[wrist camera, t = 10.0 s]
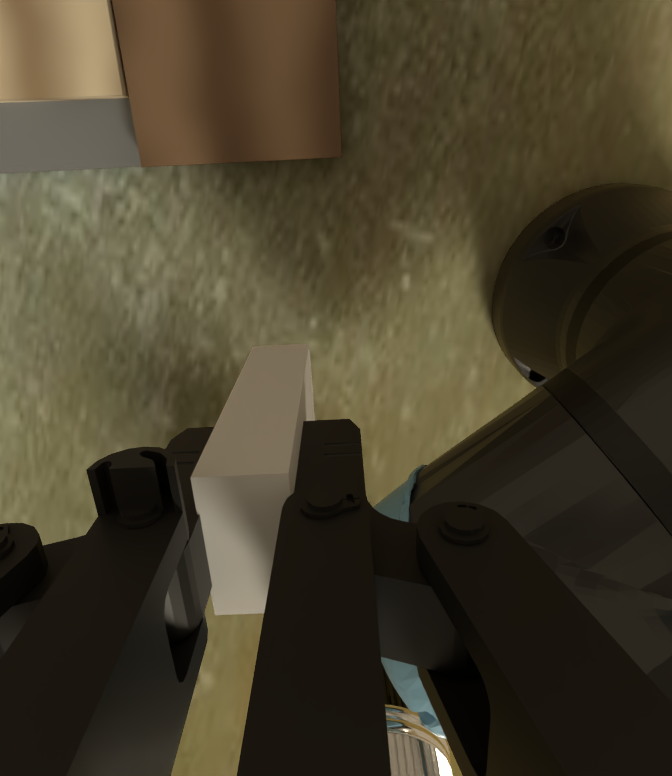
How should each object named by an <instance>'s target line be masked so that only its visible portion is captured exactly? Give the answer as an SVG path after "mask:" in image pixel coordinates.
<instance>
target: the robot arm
mask: <svg viewBox="0 0 672 776" xmlns="http://www.w3.org/2000/svg"><path fill="white" fill-rule="evenodd" d="M492 314H493V324H494V329H495V333H496V336H497V339H498V342H499V345H500V347H501V349H502V351H503V352H504V354H505V356H506V357H507V359H508V360H509V361H510V363H511V364H512V365H513V366H514V367H515V368H516V369H517V371H518V372H519V373H520V374H521V375H522V376H523V377H524V378H525V379H526V380H527V381H528V382H529V383H531V384H532V385H533V386H535V387H536V389H535V390H533V391H532V392H531V393H529V394H528V395H526V396H525V397H524V398H522V399H521V400H520V401H518V402H517V403H515V404H514V405H513V406H511V407H510V408H508V409H507V410H506V411H504V412H503V413H501V414H500V415H498V416H497V417H496V418H494V419H493V420H491V421H490V422H488V423H487V424H486V425H484V426H483V427H481V428H480V429H479V430H477V431H476V432H474V433H473V434H471V435H470V436H469V437H467V438H466V439H464V440H463V441H461V442H460V443H459V444H457V445H456V446H454V447H453V448H451V449H450V450H449V451H447V452H446V453H444V454H443V455H442V456H440V457H439V458H437V459H436V460H434V461H433V462H432V463H430V464H429V465H421V466H419V467H418V468H416V469H415V470H414V471H413V472H412V473H411V474H410V476H409V478H408V480H407V481H406V482H405V483H403V484H402V485H401V486H399V487H398V488H397V489H396V490H394V491H393V492H392V493H391V494H389V495H388V496H387V497H385V498H384V499H383V500H382V501H380V502H379V503H378V504H377V505H375V506H374V507H372V506H371V505H370V503H369V502H368V500H367V497H366V492H365V481H364V469H363V458H362V446H361V435H360V429H359V428H358V427H357V426H356V425H355V424H354V423H353V422H352V421H351V420H350V419H339V420H317V421H315V414H314V401H313V387H312V374H311V360H310V347H309V344H291V345H271V346H253V347H252V349H251V351H250V353H249V355H248V358H247V360H246V362H245V364H244V366H243V368H242V370H241V372H240V374H239V377H238V379H237V381H236V383H235V385H234V387H233V389H232V391H231V393H230V395H229V398H228V400H227V402H226V404H225V406H224V408H223V410H222V412H221V414H220V416H219V419H218V421H217V423H216V425H215V427H205V428H187V429H186V430H184V431H183V432H182V433H180V434H179V435H177V436H176V437H175V438H173V439H172V440H171V441H170V443H169V444H168V446H167V448H166V449H162V448H159V447H139V448H132V449H126V450H123V451H120V452H116V453H113V454H110V455H108V456H106V457H104V458H102V459H100V460H98V461H96V462H95V463H94V464H93V465H92V466H90V467H89V468H88V469H87V474H88V478H89V482H90V486H91V490H92V493H93V497H94V501H95V505H96V509H97V513H98V518H97V519H96V520H95V522H94V523H93V525H92V526H91V528H90V529H89V531H88V532H87V534H86V535H84V536H81V537H77V538H73V539H69V540H64V541H60V542H56V543H52V544H48V545H42V542H41V539H40V536H39V533H38V532H37V530H36V529H35V527H33V526H30V525H27V524H24V523H6V524H0V776H171V772H172V768H173V765H174V761H175V757H176V754H177V750H178V746H179V743H180V739H181V735H182V732H183V728H184V724H185V721H186V717H187V713H188V710H189V706H190V702H191V699H192V695H193V691H194V688H195V684H196V680H197V677H198V673H199V669H200V666H201V662H202V658H203V655H204V651H205V647H206V644H207V634H208V629H207V623H206V618H205V612H204V611H205V608H206V605H207V601H208V598H209V595H210V591H211V596H212V602H213V608H214V613H215V615H231V614H257V613H264V618H263V624H262V630H261V636H260V641H259V647H258V653H257V659H256V665H255V671H254V677H253V683H252V689H251V695H250V701H249V707H248V713H247V719H246V725H245V731H244V736H243V742H242V748H241V754H240V760H239V766H238V772H237V776H391V768H390V756H389V744H388V733H387V721H386V709H385V697H384V686H383V674H382V664H383V666H384V669H385V671H386V673H387V675H388V677H389V679H390V681H391V682H392V684H393V686H394V688H395V689H396V691H397V692H398V694H399V696H400V697H401V699H402V700H403V701H404V703H405V704H406V706H407V707H408V709H409V710H410V711H412V712H418V715H419V718H420V721H421V723H422V725H424V726H425V727H426V728H427V729H428V730H429V731H431V732H432V733H433V734H435V735H437V736H439V737H441V738H444V739H447V741H448V743H449V745H450V748H451V750H452V752H453V755H454V757H455V759H456V761H457V764H458V766H459V768H460V770H461V773H462V775H463V776H672V192H670V191H667V190H664V189H661V188H657V187H651V186H644V185H636V184H624V183H620V184H606V185H600V186H595V187H591V188H588V189H585V190H581V191H579V192H576V193H574V194H572V195H570V196H567V197H565V198H563V199H562V200H560V201H558V202H556V203H555V204H553V205H552V206H550V207H549V208H548V209H546V210H545V211H544V212H542V213H541V214H540V215H539V216H538V217H536V218H535V219H534V220H533V221H532V222H531V223H530V224H529V225H528V226H527V227H526V228H525V229H524V231H523V232H522V233H521V234H520V235H519V237H518V238H517V239H516V241H515V242H514V244H513V245H512V247H511V248H510V250H509V252H508V253H507V255H506V257H505V259H504V261H503V263H502V266H501V268H500V271H499V274H498V277H497V280H496V284H495V288H494V294H493V304H492Z"/></svg>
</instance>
